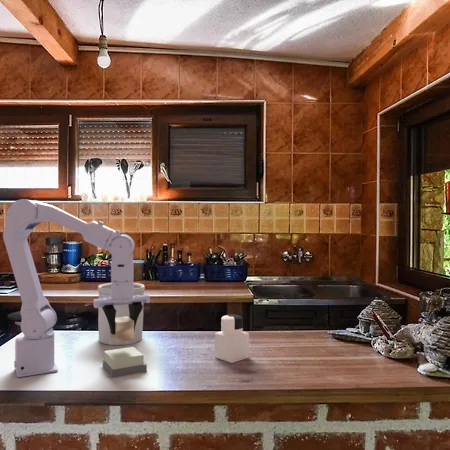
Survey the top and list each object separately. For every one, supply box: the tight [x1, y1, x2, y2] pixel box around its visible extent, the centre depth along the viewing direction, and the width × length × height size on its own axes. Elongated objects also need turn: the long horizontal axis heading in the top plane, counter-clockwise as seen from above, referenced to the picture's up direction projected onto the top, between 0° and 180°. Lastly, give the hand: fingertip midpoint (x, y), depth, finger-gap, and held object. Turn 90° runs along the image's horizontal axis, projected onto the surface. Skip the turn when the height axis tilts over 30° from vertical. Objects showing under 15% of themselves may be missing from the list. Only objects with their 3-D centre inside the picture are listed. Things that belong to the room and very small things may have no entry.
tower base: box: [102, 359, 148, 379], centre depth 116 cm, size 9×9×2 cm
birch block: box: [110, 316, 134, 342], centre depth 117 cm, size 4×6×5 cm
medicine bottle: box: [214, 313, 250, 364], centre depth 126 cm, size 7×7×12 cm
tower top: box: [103, 346, 145, 370], centre depth 116 cm, size 8×8×2 cm
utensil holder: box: [97, 282, 146, 346], centre depth 143 cm, size 15×15×18 cm
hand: (122, 332), depth 116 cm, fingers closed on birch block, 4 cm apart
